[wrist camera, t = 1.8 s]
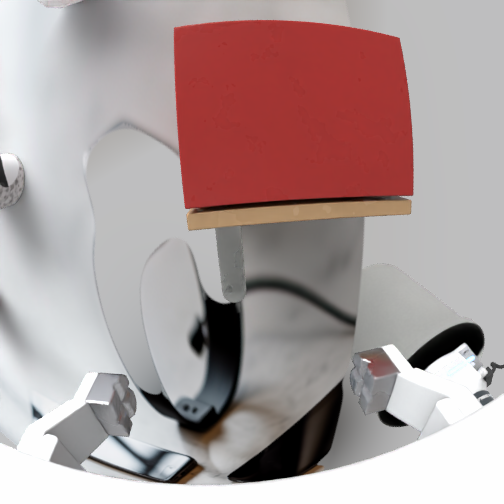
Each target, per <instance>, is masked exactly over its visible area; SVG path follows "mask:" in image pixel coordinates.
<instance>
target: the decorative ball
mask: <svg viewBox="0 0 504 504" xmlns="http://www.w3.org/2000/svg"><path fill="white" fill-rule="evenodd" d="M37 1H39V2H40V3H41V4H43V5H44V6H46V7H47V8H63V7H66V6H68V5H71V4H75V3H78V2H81V1H83V0H37Z"/></svg>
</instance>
